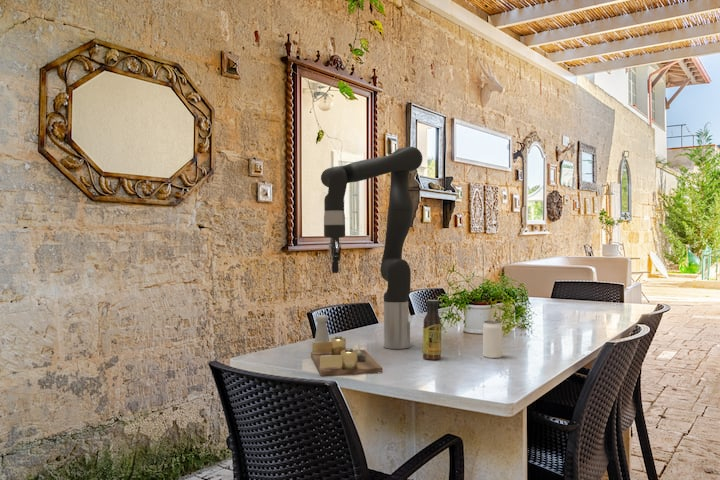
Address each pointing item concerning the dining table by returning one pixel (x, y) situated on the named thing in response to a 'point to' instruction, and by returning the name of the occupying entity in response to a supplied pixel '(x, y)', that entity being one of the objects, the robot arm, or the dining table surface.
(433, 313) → the sauce bottle
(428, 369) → the dining table surface
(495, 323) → the can
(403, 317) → the robot arm
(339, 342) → the dial
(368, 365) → the levelling plate
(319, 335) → the salt shaker
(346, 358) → the dial
